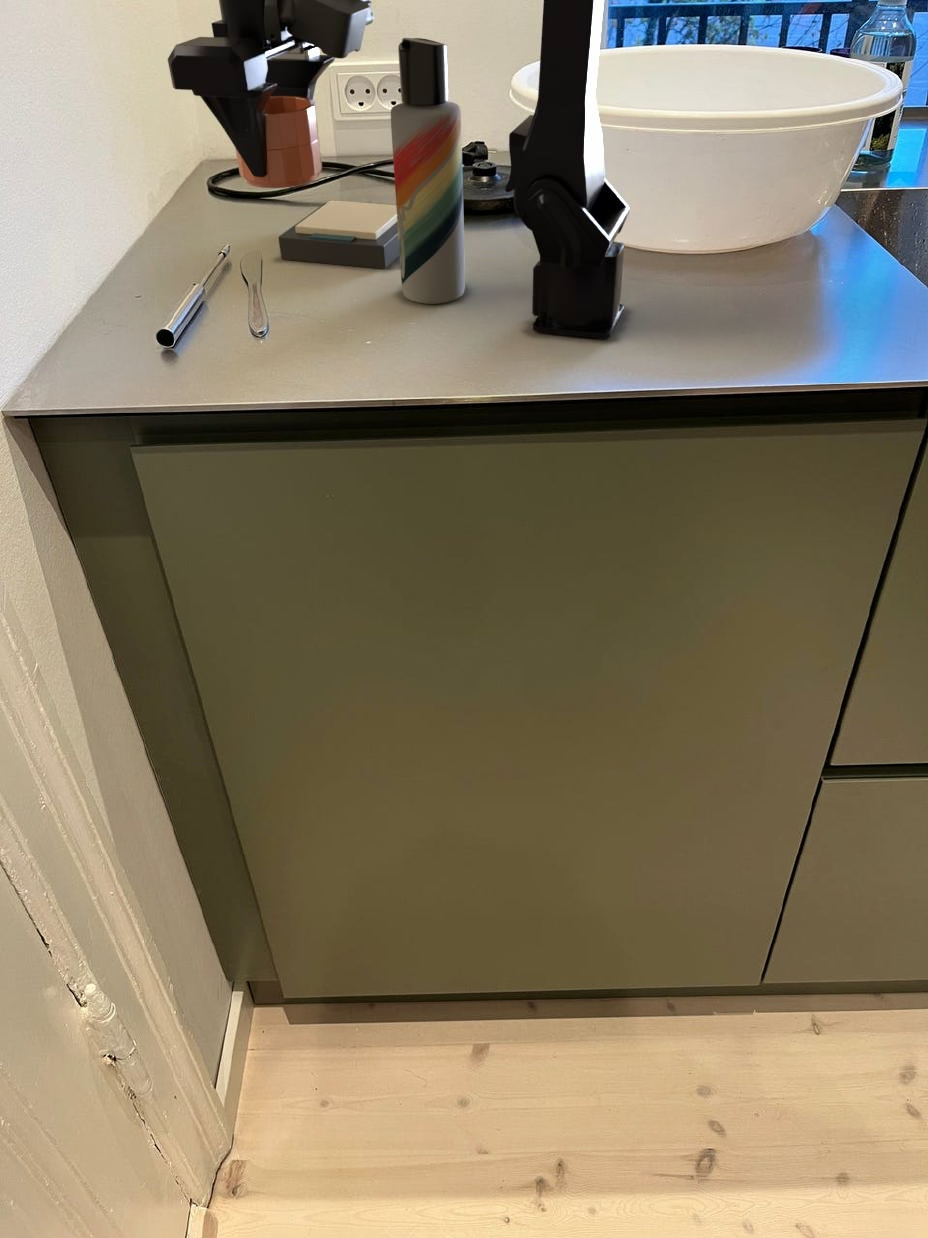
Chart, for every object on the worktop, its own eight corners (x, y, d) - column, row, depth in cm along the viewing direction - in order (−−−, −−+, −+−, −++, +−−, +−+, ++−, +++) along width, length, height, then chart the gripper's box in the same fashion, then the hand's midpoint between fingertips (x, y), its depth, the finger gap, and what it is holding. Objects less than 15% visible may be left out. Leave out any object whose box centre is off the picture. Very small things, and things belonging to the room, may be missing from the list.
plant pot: (264, 164, 85) (254, 94, 82) (335, 168, 84) (328, 97, 80) (226, 186, 80) (214, 112, 77) (301, 191, 79) (291, 116, 75)
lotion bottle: (392, 288, 88) (373, 35, 76) (447, 276, 90) (439, 27, 78) (418, 309, 85) (404, 46, 72) (476, 296, 86) (472, 38, 74)
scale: (424, 231, 100) (423, 202, 99) (385, 269, 92) (382, 238, 91) (327, 223, 103) (324, 195, 101) (281, 259, 95) (276, 229, 93)
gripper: (291, -48, 63) (320, 204, 72) (397, -75, 76) (409, 141, 86) (141, -49, 65) (189, 194, 75) (269, -74, 79) (295, 135, 89)
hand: (279, 164), depth 81 cm, fingers closed on plant pot, 7 cm apart
